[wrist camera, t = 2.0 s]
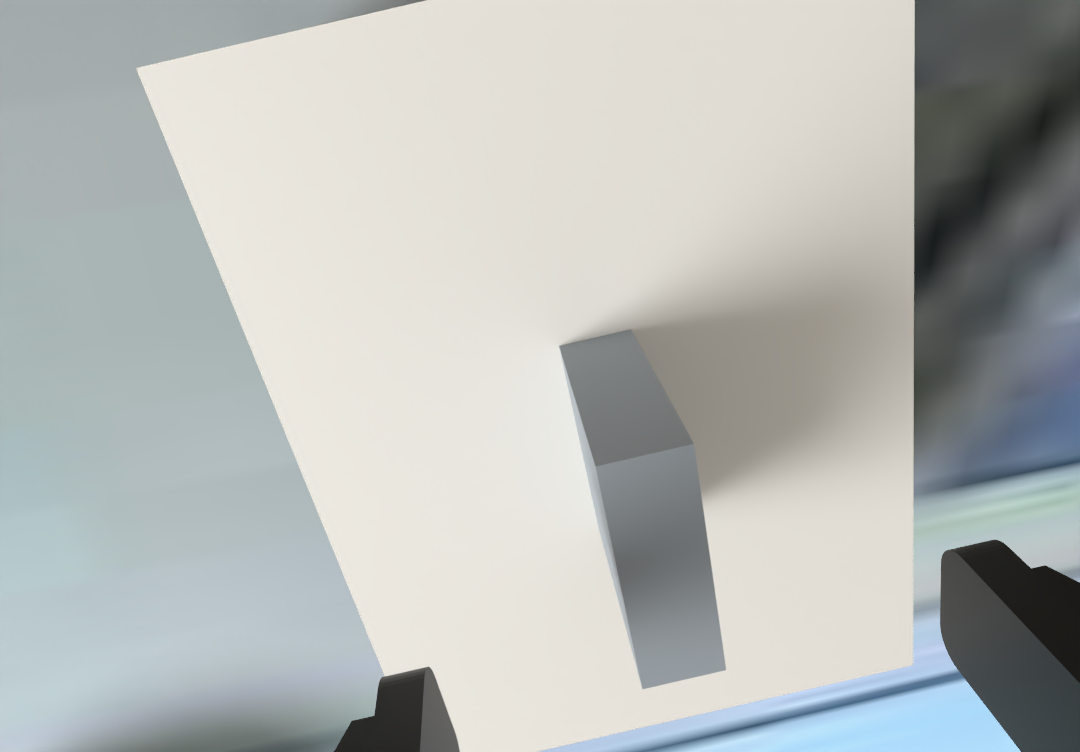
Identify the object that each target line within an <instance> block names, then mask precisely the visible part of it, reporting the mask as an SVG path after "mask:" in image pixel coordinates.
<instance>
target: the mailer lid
mask: <svg viewBox="0 0 1080 752" xmlns="http://www.w3.org/2000/svg"><path fill="white" fill-rule="evenodd" d="M914 60H915V0H426V1H421V2H417V3H413V4H408V5H404V6H400V7H396V8H391V9H387V10H383V11H379V12H374V13H370V14H366V15H361V16H357V17H353V18H349V19H344V20H340V21H336V22H331V23H327V24H323V25H319V26H314V27H310V28H306V29H302V30H297V31H293V32H289V33H284V34H280V35H276V36H272V37H267V38H263V39H259V40H254V41H250V42H246V43H242V44H237V45H233V46H229V47H225V48H220V49H216V50H212V51H207V52H203V53H199V54H195V55H190V56H186V57H182V58H178V59H173V60H169V61H165V62H160V63H156V64H152V65H148V66H143V67H139V68H136V69H137V72H138V74H139V76H140V79H141V81H142V84H143V86H144V89H145V91H146V94H147V96H148V98H149V101H150V103H151V106H152V108H153V111H154V113H155V116H156V118H157V120H158V123H159V125H160V128H161V130H162V133H163V135H164V138H165V140H166V142H167V145H168V147H169V150H170V152H171V155H172V157H173V159H174V162H175V164H176V167H177V169H178V172H179V174H180V177H181V179H182V181H183V184H184V186H185V189H186V191H187V194H188V196H189V199H190V201H191V203H192V206H193V208H194V211H195V213H196V216H197V218H198V221H199V223H200V225H201V228H202V230H203V233H204V235H205V238H206V240H207V243H208V245H209V247H210V250H211V252H212V255H213V257H214V260H215V262H216V265H217V267H218V269H219V272H220V274H221V277H222V279H223V282H224V284H225V287H226V289H227V291H228V294H229V296H230V299H231V301H232V304H233V306H234V309H235V311H236V313H237V316H238V318H239V321H240V323H241V326H242V328H243V331H244V333H245V335H246V338H247V340H248V343H249V345H250V348H251V350H252V353H253V355H254V357H255V360H256V362H257V365H258V367H259V370H260V372H261V374H262V377H263V379H264V382H265V384H266V387H267V389H268V392H269V394H270V396H271V399H272V401H273V404H274V406H275V409H276V411H277V414H278V416H279V418H280V421H281V423H282V426H283V428H284V431H285V433H286V436H287V438H288V440H289V443H290V445H291V448H292V450H293V453H294V455H295V458H296V460H297V462H298V465H299V467H300V470H301V472H302V475H303V477H304V480H305V482H306V484H307V487H308V489H309V492H310V494H311V497H312V499H313V502H314V504H315V506H316V509H317V511H318V514H319V516H320V519H321V521H322V524H323V526H324V528H325V531H326V533H327V536H328V538H329V541H330V543H331V546H332V548H333V550H334V553H335V555H336V558H337V560H338V563H339V565H340V568H341V570H342V572H343V575H344V577H345V580H346V582H347V585H348V587H349V589H350V592H351V594H352V597H353V599H354V602H355V604H356V607H357V609H358V611H359V614H360V616H361V619H362V621H363V624H364V626H365V629H366V631H367V633H368V636H369V638H370V641H371V643H372V646H373V648H374V651H375V653H376V655H377V658H378V660H379V663H380V665H381V668H382V670H383V673H384V675H385V676H389V675H394V674H398V673H402V672H407V671H411V670H416V669H420V668H424V667H430V668H431V669H432V671H433V673H434V675H435V678H436V681H437V684H438V686H439V689H440V692H441V695H442V697H443V700H444V703H445V706H446V708H447V711H448V714H449V717H450V719H451V722H452V725H453V728H454V730H455V733H456V737H457V740H458V745H459V750H460V752H538V751H542V750H546V749H551V748H555V747H559V746H564V745H568V744H572V743H577V742H581V741H585V740H590V739H594V738H598V737H603V736H607V735H611V734H616V733H620V732H624V731H629V730H633V729H638V728H642V727H646V726H651V725H655V724H659V723H664V722H668V721H672V720H677V719H681V718H685V717H690V716H694V715H698V714H703V713H707V712H711V711H716V710H720V709H724V708H729V707H733V706H737V705H742V704H746V703H750V702H755V701H759V700H763V699H768V698H772V697H776V696H781V695H785V694H790V693H794V692H798V691H803V690H807V689H811V688H816V687H820V686H824V685H829V684H833V683H837V682H842V681H846V680H850V679H855V678H859V677H863V676H868V675H872V674H876V673H881V672H885V671H889V670H894V669H898V668H902V667H907V666H911V665H913V468H914Z"/></svg>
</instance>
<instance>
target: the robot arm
mask: <svg viewBox="0 0 1080 752" xmlns="http://www.w3.org/2000/svg"><path fill="white" fill-rule="evenodd" d="M940 627H941V633H942V638H943V641H944V644H945V647H946V649H947V651H948V654H949V656H950V658H951V660H952V661H953V663H954V665H955V666H956V667H957V669H958V670H959V672H960V673H961V674H962V675H963V677H964V678H965V679H966V681H967V682H968V683H969V685H970V686H971V687H972V688H973V690H974V691H975V692H976V694H977V695H978V696H979V697H980V699H981V700H982V701H983V703H984V704H985V705H986V707H987V708H988V709H989V710H990V712H991V713H992V714H993V716H994V717H995V718H996V720H997V721H998V722H999V723H1000V725H1001V726H1002V727H1003V729H1004V730H1005V731H1006V733H1007V734H1008V735H1009V736H1010V738H1011V739H1012V740H1013V742H1014V743H1015V744H1016V746H1017V747H1018V748H1019V749H1020V751H1021V752H1080V583H1079V582H1077V581H1075V580H1073V579H1071V578H1069V577H1067V576H1065V575H1063V574H1061V573H1059V572H1057V571H1055V570H1053V569H1051V568H1049V567H1047V566H1041V567H1037V568H1032V569H1031V568H1030V567H1029V566H1028V565H1027V564H1026V563H1025V562H1023V561H1022V560H1021V559H1020V558H1019V557H1018V556H1017V555H1016V554H1015V553H1014V552H1013V551H1012V550H1011V549H1010V548H1009V547H1008V546H1006V545H1005V544H1004V543H1002V542H1001V541H998V540H991V541H987V542H982V543H978V544H973V545H969V546H965V547H960V548H956V549H951V550H947V551H945V552H944V554H943V555H942V560H941V609H940ZM334 752H460V750H459V745H458V740H457V737H456V733H455V730H454V728H453V725H452V722H451V719H450V717H449V714H448V711H447V708H446V706H445V703H444V700H443V697H442V695H441V692H440V689H439V686H438V684H437V681H436V678H435V675H434V673H433V671H432V669H431V668H430V667H424V668H420V669H416V670H411V671H407V672H402V673H398V674H394V675H389V676H385V677H382V678H381V680H380V682H379V687H378V694H377V701H376V709H375V716H372V717H368V718H363V719H359V720H354V721H352V722H351V724H350V725H349V727H348V729H347V730H346V732H345V734H344V736H343V737H342V739H341V741H340V743H339V744H338V746H337V748H336V750H335V751H334Z"/></svg>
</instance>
